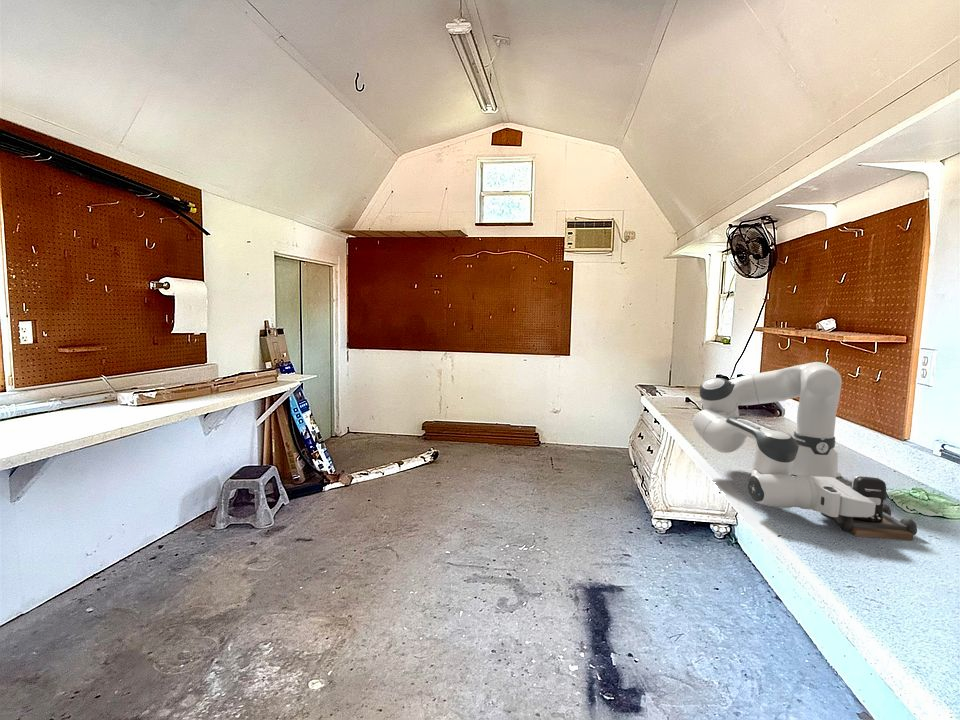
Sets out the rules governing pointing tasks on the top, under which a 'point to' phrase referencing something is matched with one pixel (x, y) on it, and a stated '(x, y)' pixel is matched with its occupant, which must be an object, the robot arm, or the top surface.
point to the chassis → (879, 526)
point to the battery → (871, 494)
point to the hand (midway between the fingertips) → (872, 497)
